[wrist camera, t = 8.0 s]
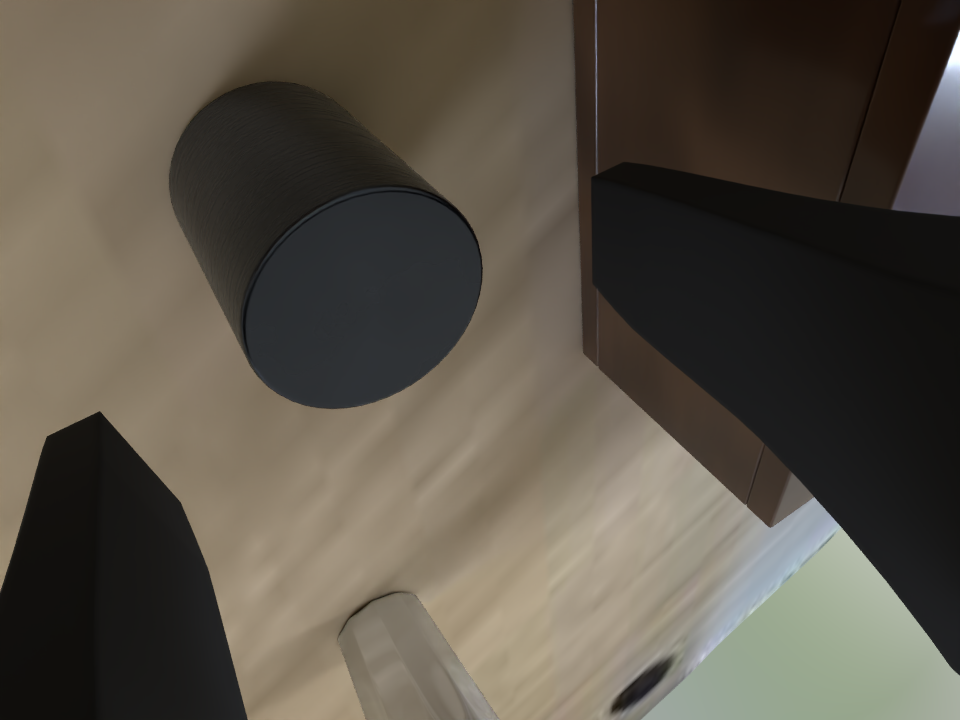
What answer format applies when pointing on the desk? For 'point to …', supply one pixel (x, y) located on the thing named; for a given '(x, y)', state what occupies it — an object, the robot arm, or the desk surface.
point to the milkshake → (407, 665)
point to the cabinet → (759, 153)
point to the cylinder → (322, 246)
